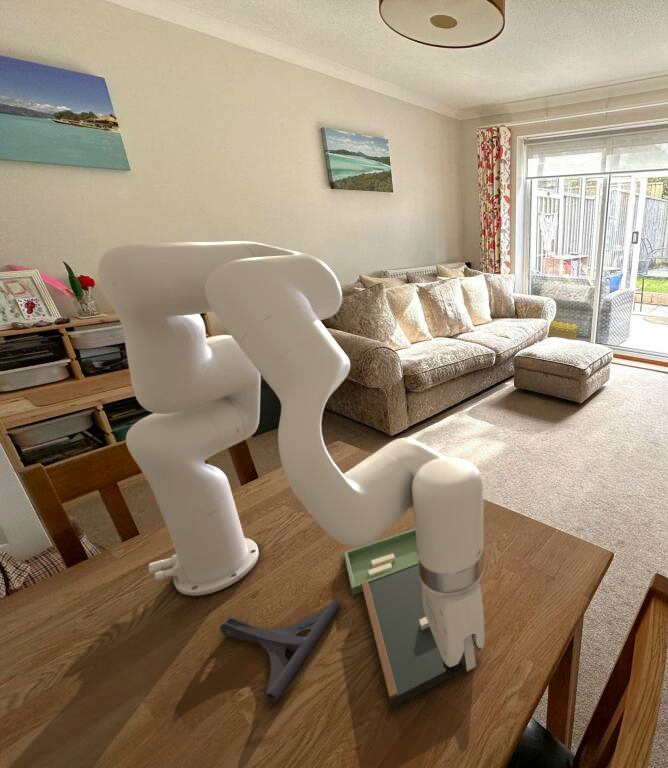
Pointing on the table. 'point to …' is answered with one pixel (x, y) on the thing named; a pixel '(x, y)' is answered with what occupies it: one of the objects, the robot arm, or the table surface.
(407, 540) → the tray
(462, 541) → the robot arm
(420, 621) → the chalk
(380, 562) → the chalk
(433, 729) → the table surface
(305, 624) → the bracket
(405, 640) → the chalkboard
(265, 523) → the table surface
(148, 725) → the table surface
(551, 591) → the table surface
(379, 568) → the chalk
